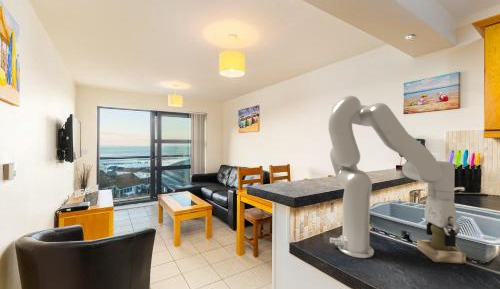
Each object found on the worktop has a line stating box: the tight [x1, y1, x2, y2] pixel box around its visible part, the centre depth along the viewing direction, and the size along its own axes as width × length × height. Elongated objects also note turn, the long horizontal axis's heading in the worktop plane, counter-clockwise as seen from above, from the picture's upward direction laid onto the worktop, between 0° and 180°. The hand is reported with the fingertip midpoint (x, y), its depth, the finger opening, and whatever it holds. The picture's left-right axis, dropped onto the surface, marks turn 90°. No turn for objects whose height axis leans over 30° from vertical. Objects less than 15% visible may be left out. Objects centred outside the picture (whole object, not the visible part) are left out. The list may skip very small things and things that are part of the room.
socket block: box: [416, 239, 467, 264], centre depth 84 cm, size 10×10×4 cm
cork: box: [430, 224, 450, 251], centre depth 84 cm, size 6×6×11 cm
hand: (440, 240), depth 84 cm, fingers open, 9 cm apart
